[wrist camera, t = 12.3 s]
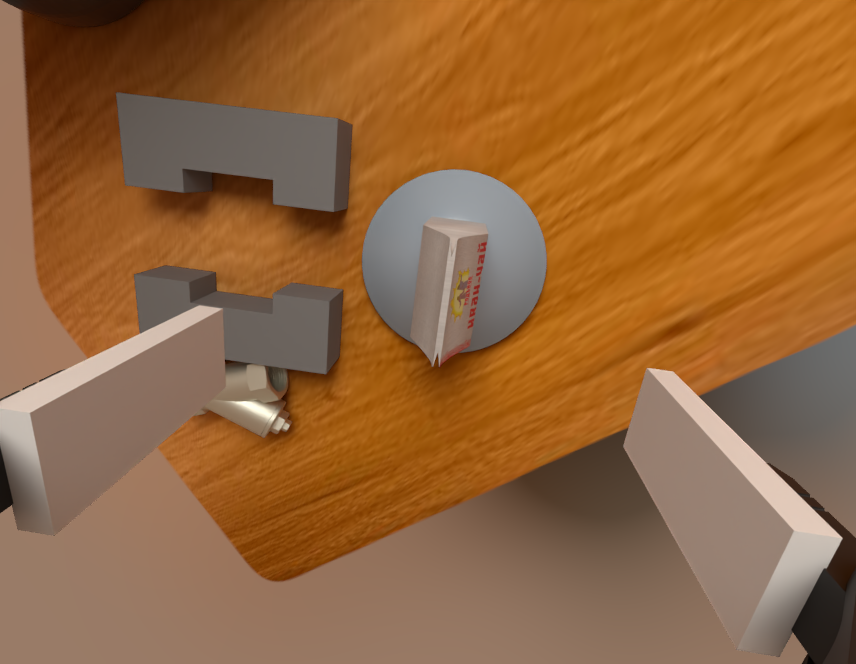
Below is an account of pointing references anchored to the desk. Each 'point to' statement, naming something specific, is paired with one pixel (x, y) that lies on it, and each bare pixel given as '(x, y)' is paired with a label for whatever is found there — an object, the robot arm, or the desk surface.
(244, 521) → the desk surface
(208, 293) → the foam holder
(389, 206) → the blue-grey round plate
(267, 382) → the pipe fitting
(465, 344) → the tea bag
